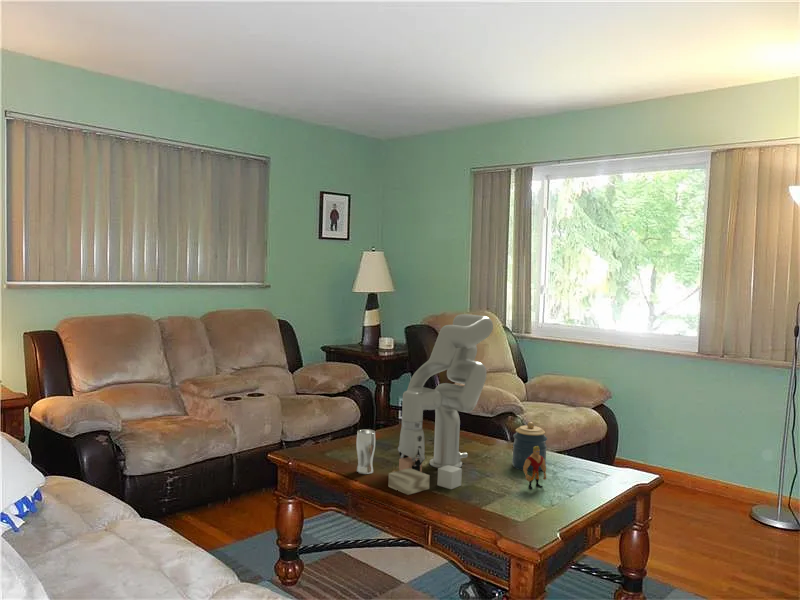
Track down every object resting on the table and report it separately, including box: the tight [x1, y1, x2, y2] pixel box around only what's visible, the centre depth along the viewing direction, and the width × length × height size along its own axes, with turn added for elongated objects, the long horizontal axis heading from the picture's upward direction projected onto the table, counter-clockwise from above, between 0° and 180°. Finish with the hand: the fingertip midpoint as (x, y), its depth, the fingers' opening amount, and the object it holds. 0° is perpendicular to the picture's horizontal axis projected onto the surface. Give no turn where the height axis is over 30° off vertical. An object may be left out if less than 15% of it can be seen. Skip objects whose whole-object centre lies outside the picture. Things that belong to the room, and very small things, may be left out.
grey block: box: [437, 465, 463, 490], centre depth 224 cm, size 6×6×6 cm
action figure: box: [522, 446, 547, 490], centre depth 224 cm, size 10×4×15 cm, turn 114°
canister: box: [511, 421, 548, 472], centre depth 248 cm, size 13×13×18 cm
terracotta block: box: [398, 457, 423, 473], centre depth 233 cm, size 6×6×6 cm
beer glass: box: [356, 428, 376, 475], centre depth 235 cm, size 7×7×15 cm
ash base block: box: [387, 468, 431, 496], centre depth 220 cm, size 10×10×5 cm
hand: (410, 473), depth 233 cm, fingers closed on terracotta block, 6 cm apart
